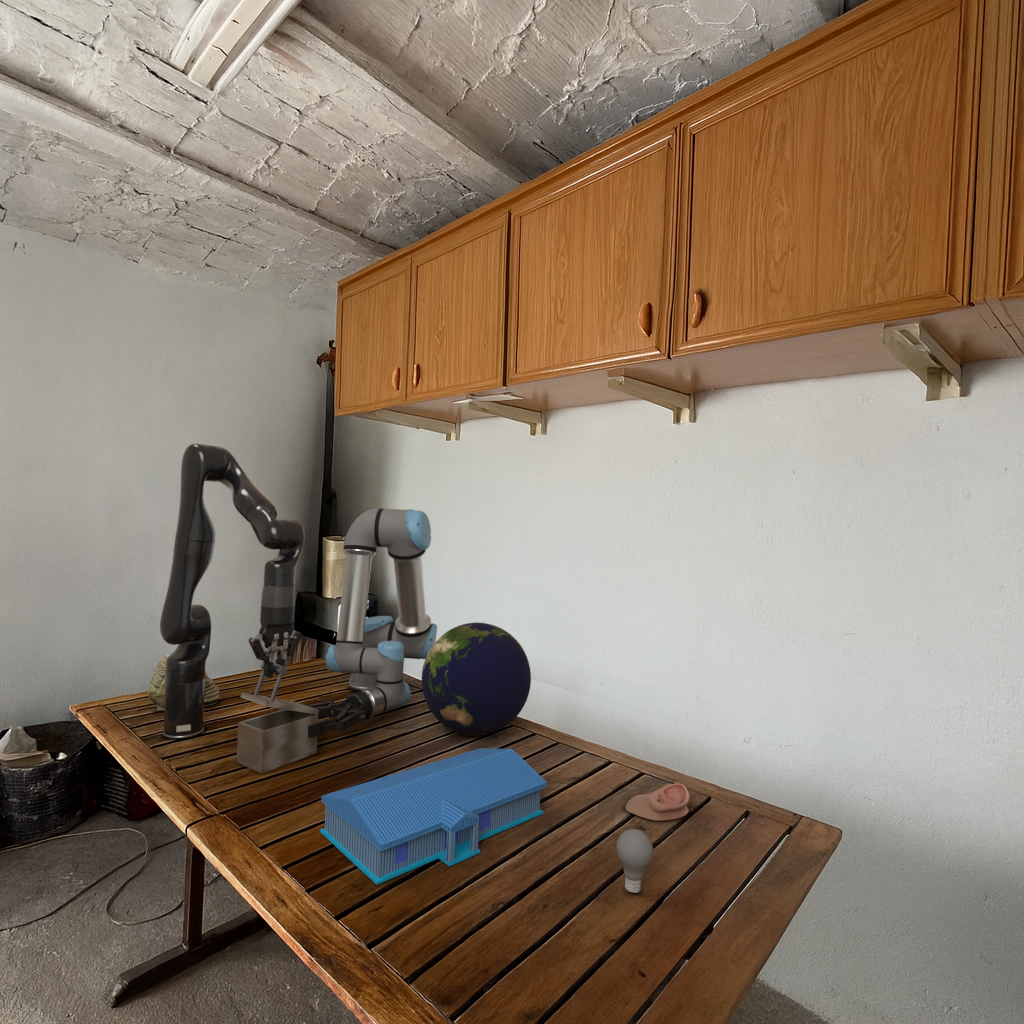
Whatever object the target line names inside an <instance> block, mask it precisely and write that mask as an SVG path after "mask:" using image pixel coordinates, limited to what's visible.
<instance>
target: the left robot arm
mask: <svg viewBox="0 0 1024 1024" xmlns="http://www.w3.org/2000/svg"><path fill="white" fill-rule="evenodd" d="M205 482H212V483H216V482H219V484H222V485H224V486H225V487H226V488H227V489H229V490H230V491H231V501H232V504H233V506H234V508H235V510H236V511H237V512H238V514H239V515H240V516H241V517H242V518H243V519H244V520H245V521H246V522H247V523H248V524H249V525H250V526H251V529H252V532H253V533H254V535H255V538H256V539H257V541H258V543H259V544H260V545H262V546H263V547H264V548H266V549H268V550H274V551H275V550H278V551H277V555H276V556H275V557H274V558H271V559H269V560H267V561H266V562H265V564H264V569H263V582H262V583H263V585H262V589H261V601H260V602H261V603H260V616H259V622H260V629H259V631H258V634H257V635H256V636H254V637H249V638H248V643H249V645H250V648H251V650H252V652H253V654H254V656H255V658H256V659H257V660H259V661H262V662H263V661H264V671H263V673H264V675H265V676H264V678H268V679H271V678H274V674H275V675H276V676H278V675H279V674H277V673H274V672H273V668H274V663H277V664H280V665H283V666H286V659H287V658H289V657H292V656H294V653H295V651H296V650H297V647H298V645H299V643H300V641H301V639H302V636H303V633H302V632H300V631H296V630H295V629H294V626H293V623H295V610H296V609H295V607H296V586H295V585H296V570H297V569H296V568H297V565H298V562H299V560H300V558H301V557H300V556H301V554H302V550H303V547H304V544H305V538H306V535H305V530H304V527H303V525H302V524H301V523H300V521H298V520H295V519H277V518H278V509H277V507H276V506H275V505H274V504H273V503H272V502H271V501H270V500H269V499H268V498H267V497H266V496H265V495H263V493H262V492H260V490H258V489H257V487H255V485H254V484H253V482H252V481H251V480H250V478H249V477H248V476H247V474H246V472H245V471H244V469H243V468H242V467H241V465H240V464H239V463H238V461H237V460H236V458H235V456H234V455H233V454H232V452H230V451H229V450H228V449H227V448H224V447H222V446H217V445H211V444H204V443H191V444H189V445H188V446H187V447H186V448H185V450H184V452H183V455H182V458H181V465H180V491H179V493H180V494H179V496H180V497H179V507H178V508H179V509H178V517H177V525H176V530H175V535H174V536H175V537H174V544H173V551H172V552H173V553H172V555H173V556H172V562H171V569H170V574H169V581H168V587H167V591H166V595H165V599H164V603H163V608H162V611H161V615H160V619H159V631H160V635H161V637H162V639H163V641H164V642H165V643H167V644H168V645H172V646H176V645H177V646H176V647H175V650H173V652H172V653H170V654H169V655H170V656H169V657H168V658H167V660H166V674H165V705H164V710H163V731H162V737H164V738H166V739H169V740H185V739H190V738H191V739H192V738H194V737H197V736H199V735H202V734H203V732H204V730H205V729H204V722H205V721H204V718H205V706H204V693H205V672H206V664H207V663H206V662H207V659H208V657H209V654H210V649H211V648H210V647H211V639H212V617H211V614H210V612H209V610H208V609H207V608H206V607H205V606H204V605H201V604H196V603H195V604H193V601H194V595H195V592H196V590H197V587H198V586H199V583H200V581H201V580H202V578H203V577H204V575H205V573H206V572H207V571H208V568H209V567H210V565H211V563H212V560H213V557H214V552H215V545H216V544H215V543H216V535H217V534H216V533H217V532H216V529H215V526H214V523H213V521H212V519H211V517H210V515H209V512H208V510H207V507H206V505H205V498H204V493H205V492H204V491H205ZM275 654H276V655H275ZM275 656H276V659H275ZM274 659H275V662H274Z"/></svg>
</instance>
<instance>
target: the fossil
mask: <svg viewBox="0 0 1024 1024" xmlns="http://www.w3.org/2000/svg"><path fill="white" fill-rule="evenodd" d="M170 655H171V654H165V655H164V656H163V657H162V658H161V659H160V660H159V662H158V663H157V666H156V667H155V669H154V670H153V672H152V675H151V677H150V680H149V684H148V688H147V697H148V699H149V700H150V701H152V703H153V704H154V706H155V711H158V712H159V711H162V712H163V711H164V705H165V674H166V660H167V658H168V657H169V656H170ZM220 698H221V696H220V690H219V688H218V686H217V685H216V683H215V682H214V681H213V679H212V678H211V677H209V675H208V674H207V672H206V671H205V693H204V707H207V706H213V705H215V704H217V703H218V701H219V699H220Z"/></svg>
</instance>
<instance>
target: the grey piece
mask: <svg viewBox="0 0 1024 1024" xmlns="http://www.w3.org/2000/svg"><path fill="white" fill-rule="evenodd" d="M260 667H261V669H262V670H261V673H260V676H259V679H258V680H257V684H256V687H255V690H254V694H252V693H248V692H247V693H246V692H241V694H240V698H241V699H245V700H247V701H249V702H252V703H255V704H257V705H260V706H263V707H267V708H272V709H279V710H283V709H285V710H291V711H298V712H304V713H310V714H317V715H318V712H319V710H317V709H315V708H312V707H309V706H306V704H304V703H300V702H297V701H294V700H288V699H282V698H277V697H276V696H277V693H278V690H279V687H280V684H281V681H282V680H283V679H282V678H283V676H285V675H286V674H287V673H288V667H287V666H286V665H285V666H283V665H280V664H277V663H275V662H274V668H273V674H275V673H277V674H279V675H277V678H276V681H275V683H274V687H273V689H272V692H271V694H270V697H269V696H264V695H259V693H260V690H261V688H262V685H263V682H264V679H265V675H264V673H263V671H264V661H262V662H261V665H260Z"/></svg>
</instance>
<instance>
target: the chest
mask: <svg viewBox="0 0 1024 1024" xmlns="http://www.w3.org/2000/svg"><path fill="white" fill-rule="evenodd" d="M316 723H319V718H318V715H317V714H310V713H304V712H298V711H291V710H285V709H279V710H276V711H272V712H270V713H266V714H262V715H259V716H256V717H252V718H249V719H245V720H241V721H239V722H237V741H236V743H237V744H236V746H237V747H236V763H237V764H239V765H241V766H244V767H246V768H247V769H250V770H252V771H254V772H256V773H259V774H260V775H262V774H265V773H267V772H270V771H272V770H275V769H278V768H280V767H284V766H287V765H288V764H292V763H294V762H296V761H299V760H302V759H304V758H308V757H310V756H312V755H316V754H317V753H318V735H316V736H313V737H311V738H309V737H308V726H310V725H313V724H316Z"/></svg>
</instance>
